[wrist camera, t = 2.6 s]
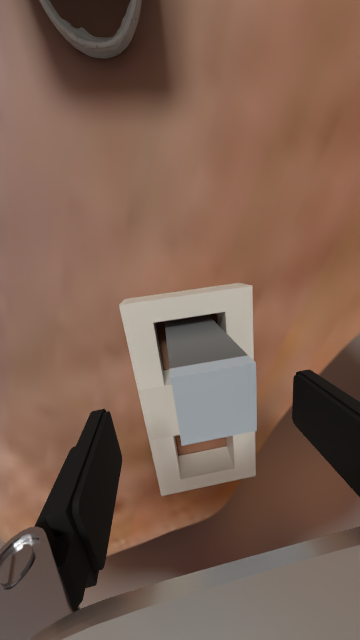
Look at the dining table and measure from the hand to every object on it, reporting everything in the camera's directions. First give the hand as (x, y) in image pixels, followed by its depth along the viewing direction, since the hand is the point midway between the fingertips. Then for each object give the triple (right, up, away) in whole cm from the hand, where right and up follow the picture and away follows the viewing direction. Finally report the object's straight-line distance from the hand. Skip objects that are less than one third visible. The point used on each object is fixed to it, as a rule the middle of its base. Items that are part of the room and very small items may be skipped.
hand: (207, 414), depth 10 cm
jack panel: (0, -2, +10) cm, 10 cm away
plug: (0, +3, +8) cm, 9 cm away
